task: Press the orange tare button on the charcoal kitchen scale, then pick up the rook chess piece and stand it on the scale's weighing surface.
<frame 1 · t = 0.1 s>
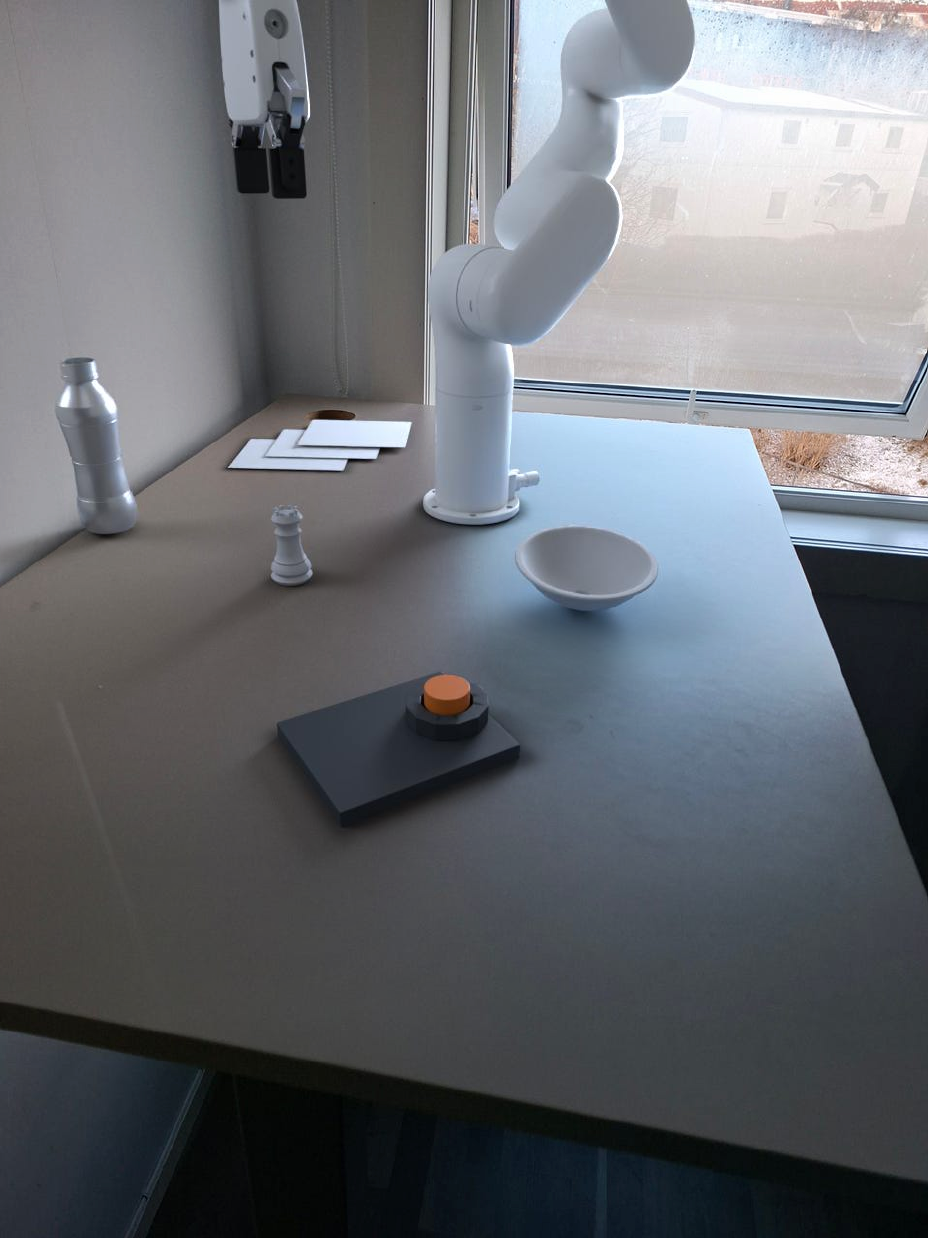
hand: (270, 195, 81), 37 cm above the table, tool pointing down, fingers open, 9 cm apart
paper stack: (327, 446, 132), on the table
tare button: (447, 695, 66), point 3 cm above the table, slide at 0.1 cm
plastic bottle: (111, 531, 102), on the table
rook chess piece: (292, 579, 91), on the table
scale: (397, 747, 66), on the table
dish: (581, 603, 88), on the table
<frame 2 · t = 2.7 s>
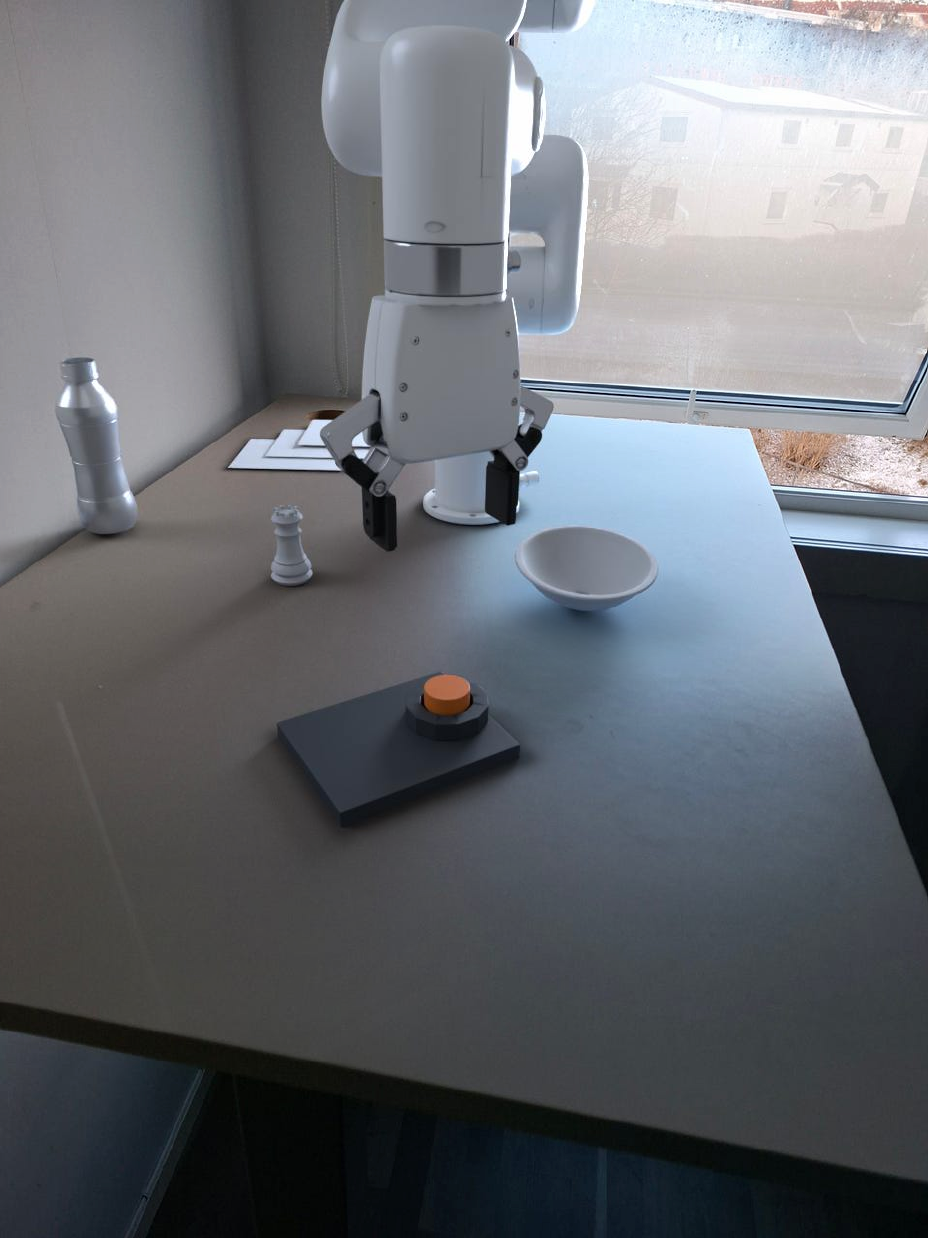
hand: (443, 531, 60), 17 cm above the table, tool pointing down, fingers open, 9 cm apart
nothing on the table moved.
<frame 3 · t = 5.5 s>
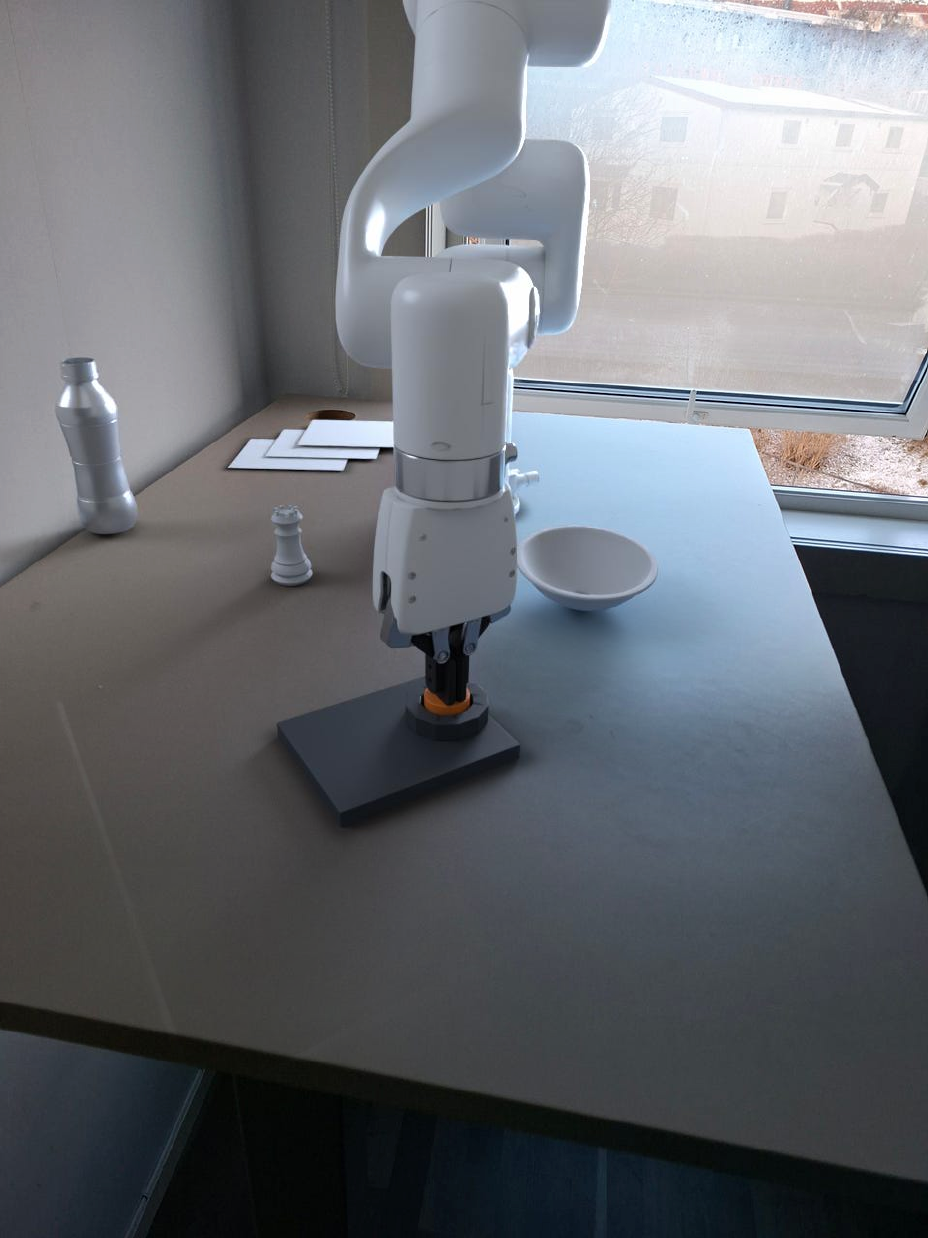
hand: (446, 694, 66), 4 cm above the table, tool pointing down, fingers closed
tare button: (446, 701, 66), point 3 cm above the table, slide at -0.5 cm, touching gripper
everything else where it was.
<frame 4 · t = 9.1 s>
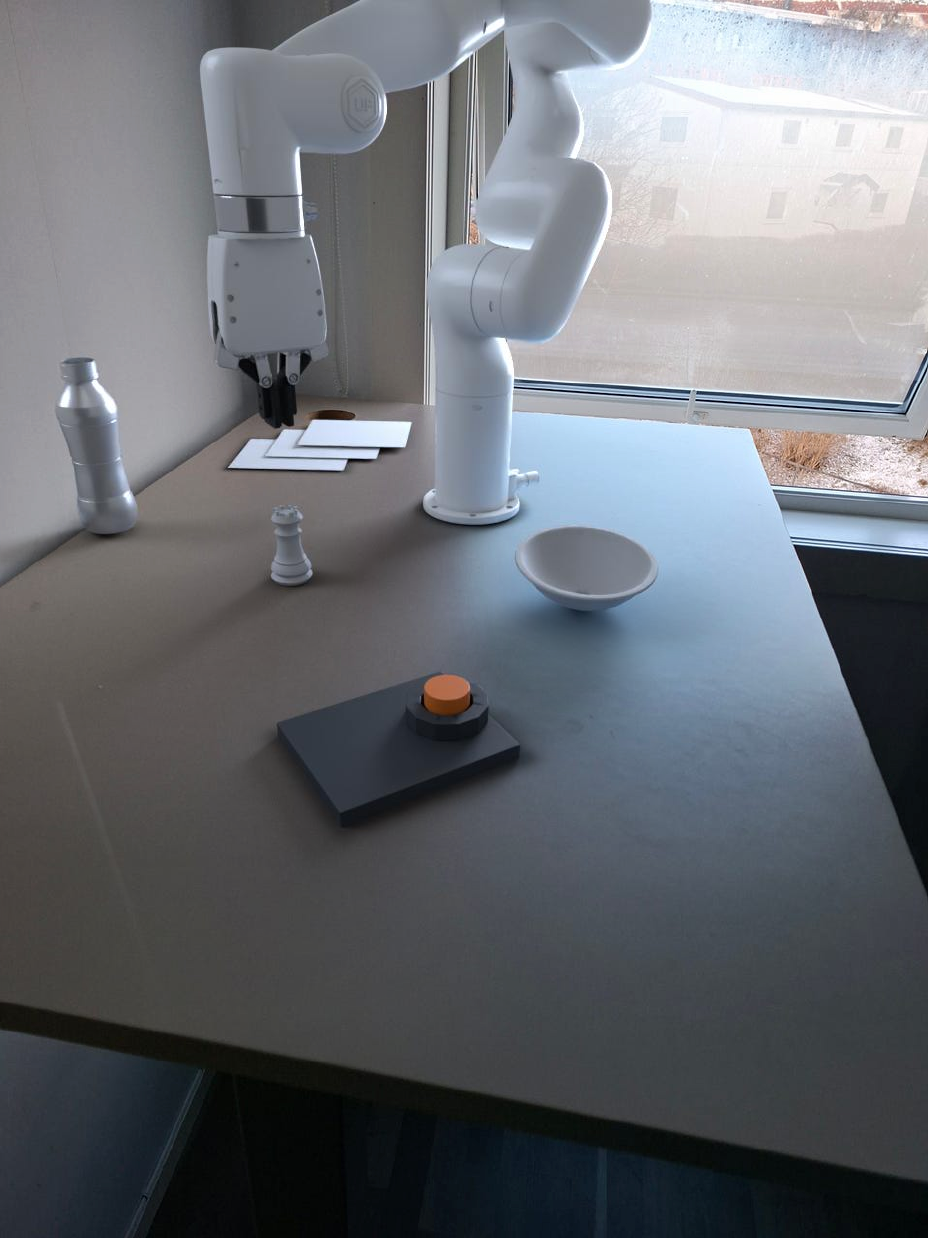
hand: (279, 423, 83), 17 cm above the table, tool pointing down, fingers closed
tare button: (447, 695, 66), point 3 cm above the table, slide at 0.1 cm
everything else where it was.
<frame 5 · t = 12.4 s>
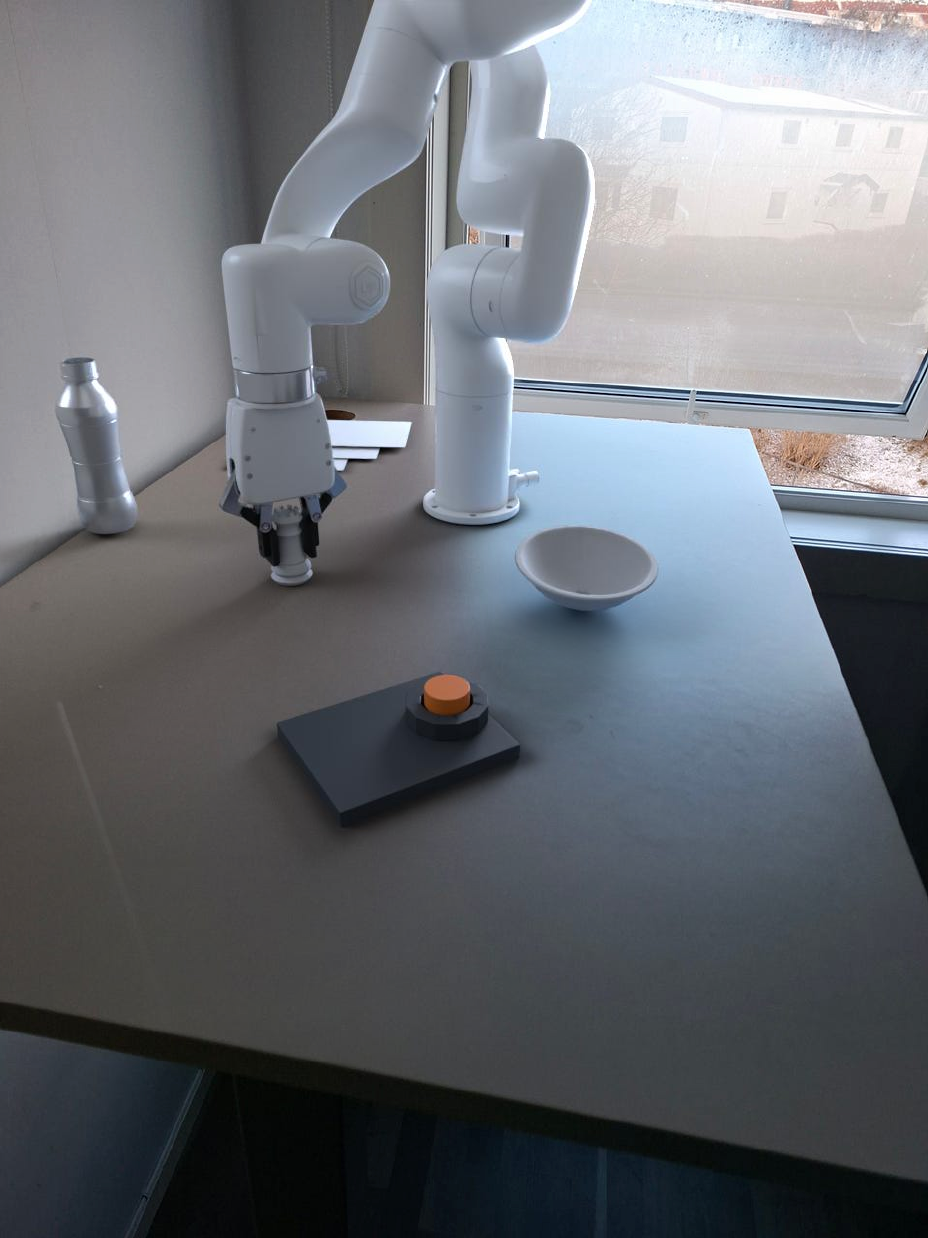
hand: (290, 555, 90), 3 cm above the table, tool pointing down, fingers closed on rook chess piece, 3 cm apart
rook chess piece: (292, 579, 91), on the table, touching gripper
everything else where it was.
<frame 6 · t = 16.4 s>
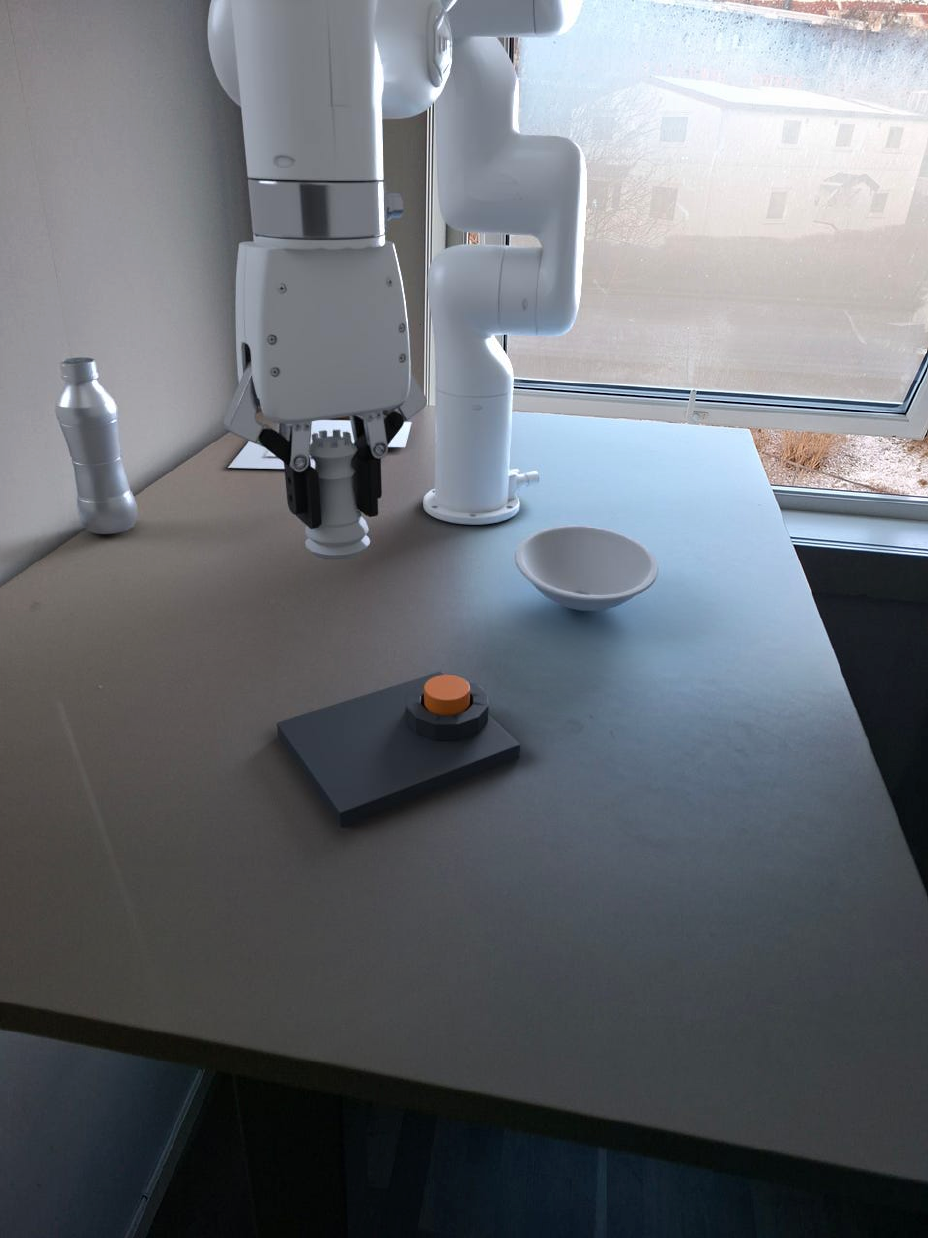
hand: (336, 513, 57), 19 cm above the table, tool pointing down, fingers closed on rook chess piece, 3 cm apart
rook chess piece: (338, 550, 58), point 16 cm above the table, touching gripper
everything else where it was.
when the fingers open (4 cm above the table, at t = 20.4 s): rook chess piece stays where it is, resting on scale.
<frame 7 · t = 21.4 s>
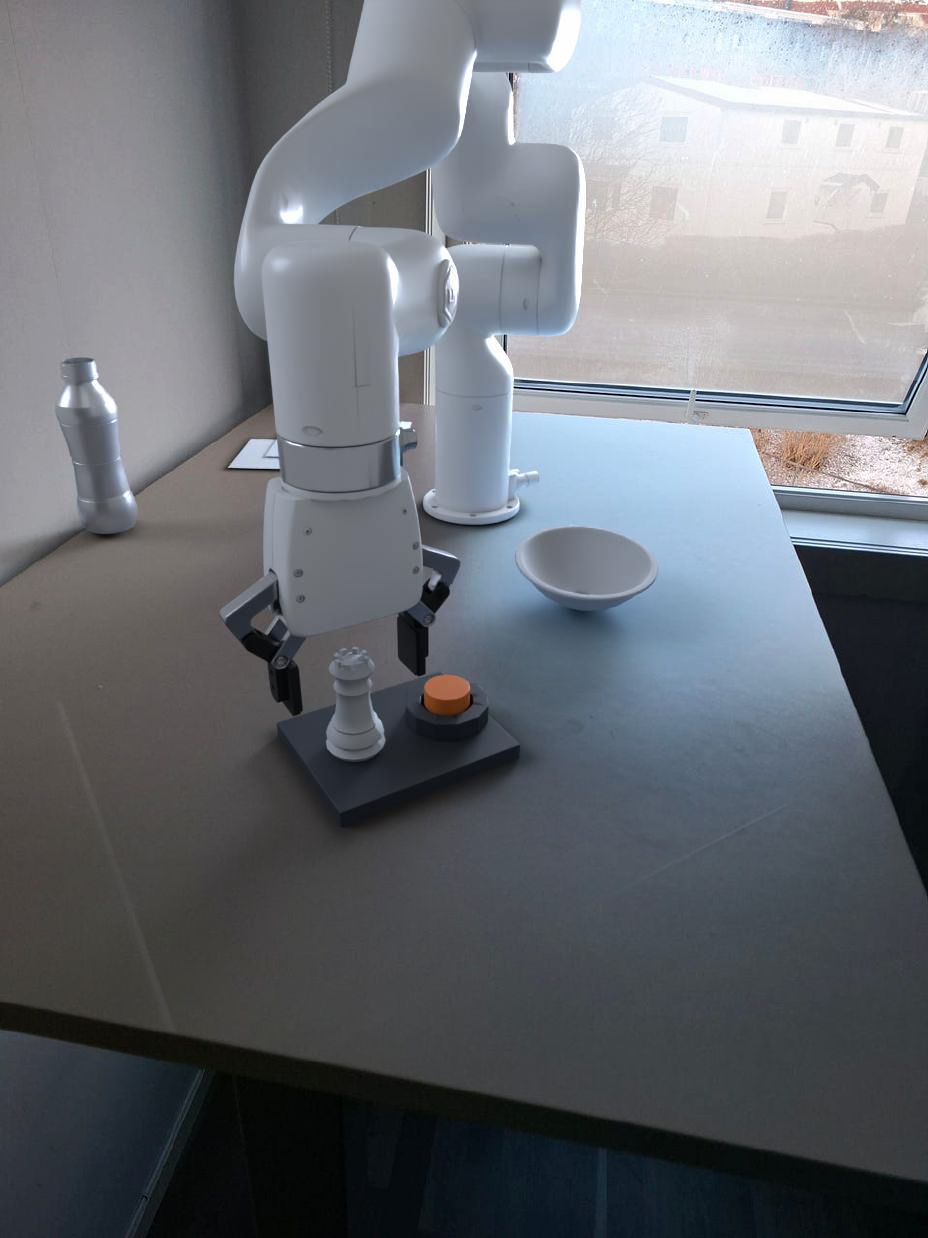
hand: (353, 685, 61), 7 cm above the table, tool pointing down, fingers open, 9 cm apart
rook chess piece: (356, 748, 64), point 1 cm above the table, touching scale
everything else where it was.
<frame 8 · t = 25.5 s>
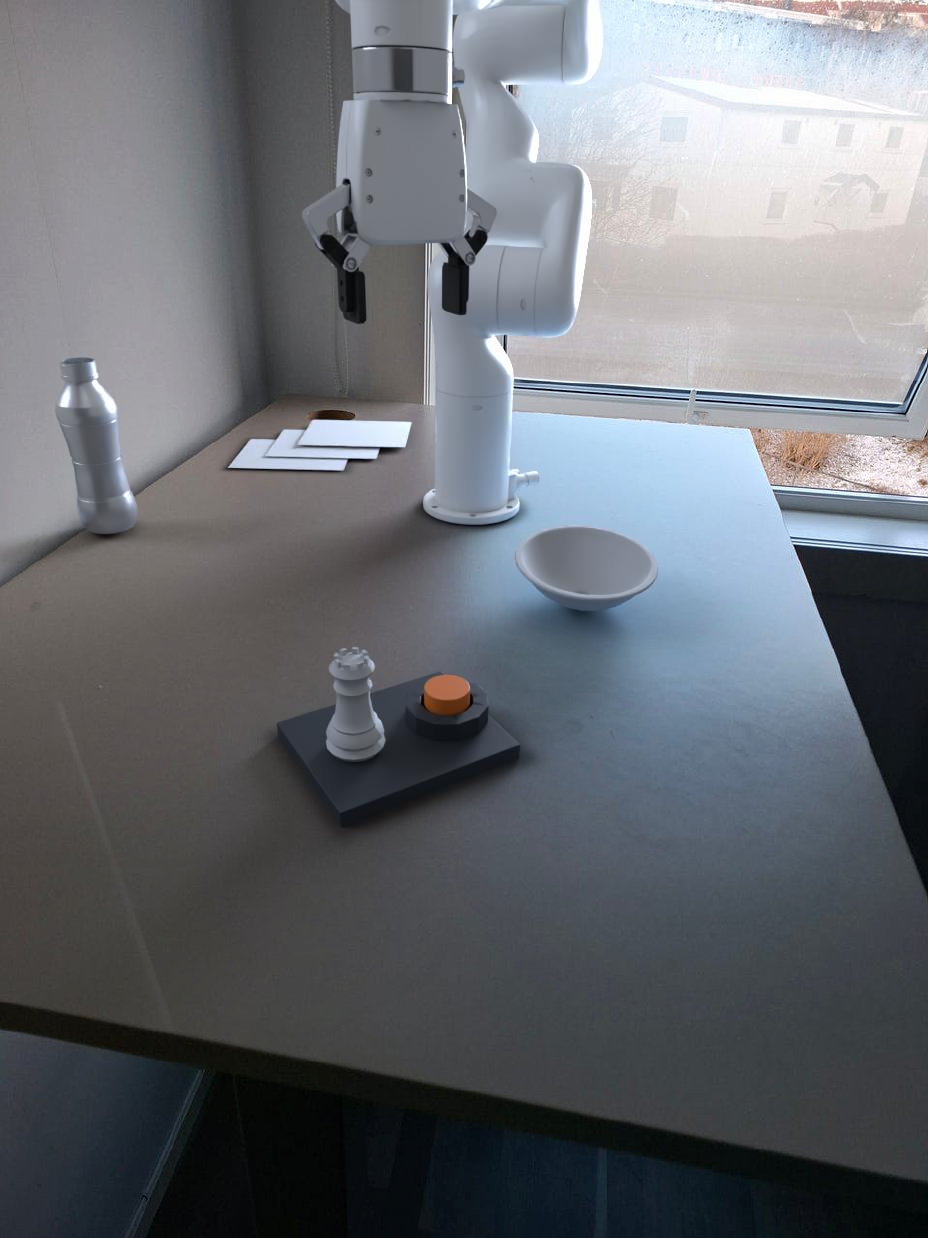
hand: (405, 316, 72), 28 cm above the table, tool pointing down, fingers open, 9 cm apart
nothing on the table moved.
at the end: tare button pushed in 0.9 cm at the most during the clip, back to where it started at the end; rook chess piece inside the target area on the scale (0.4 cm from its centre), point 1.2 cm above the scale's base; rook chess piece touching scale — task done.
